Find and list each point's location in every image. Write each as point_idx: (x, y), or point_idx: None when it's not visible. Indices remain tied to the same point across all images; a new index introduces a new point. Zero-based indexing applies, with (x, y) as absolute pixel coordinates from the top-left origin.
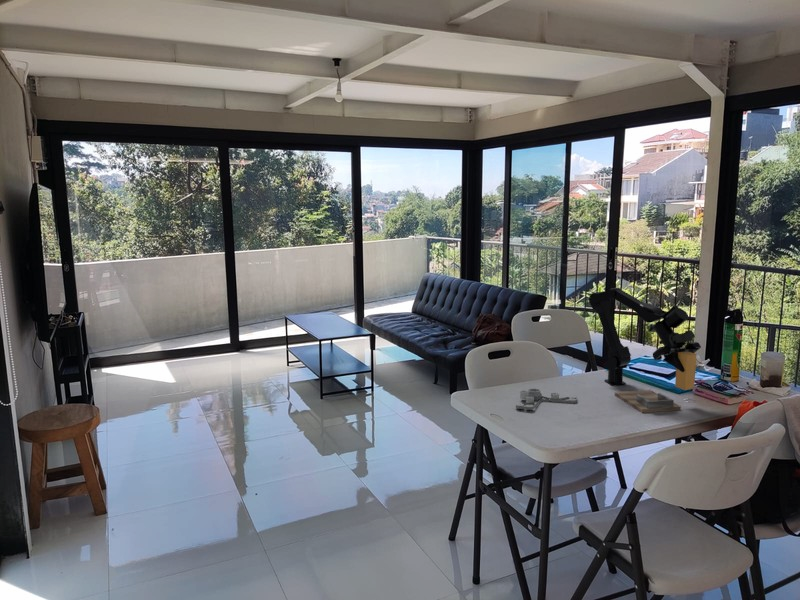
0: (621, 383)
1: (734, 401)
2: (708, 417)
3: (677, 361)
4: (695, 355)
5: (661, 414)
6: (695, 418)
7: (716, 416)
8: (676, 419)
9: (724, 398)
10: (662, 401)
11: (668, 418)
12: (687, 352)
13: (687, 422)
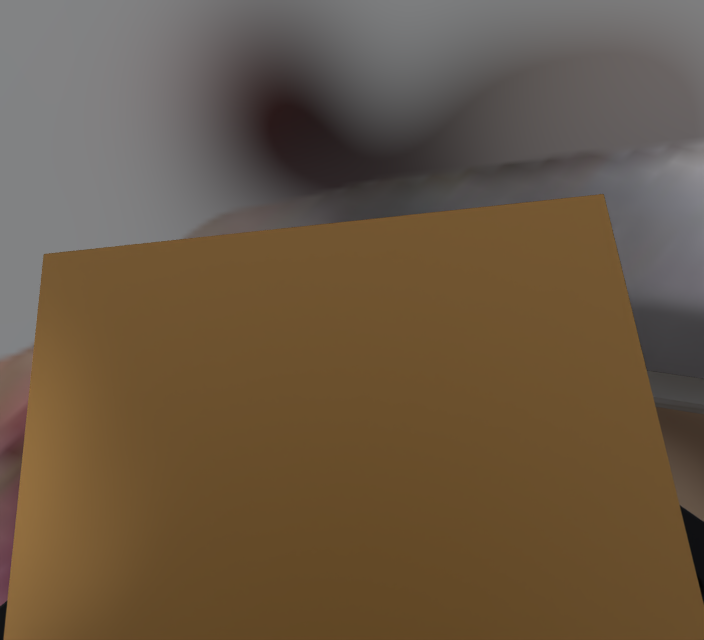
0: None
1: (11, 366)
2: (419, 185)
3: (686, 513)
4: (126, 269)
5: (694, 328)
6: (511, 195)
7: (359, 184)
8: (647, 218)
9: (8, 445)
10: (694, 378)
11: (691, 249)
12: None
13: (610, 157)
